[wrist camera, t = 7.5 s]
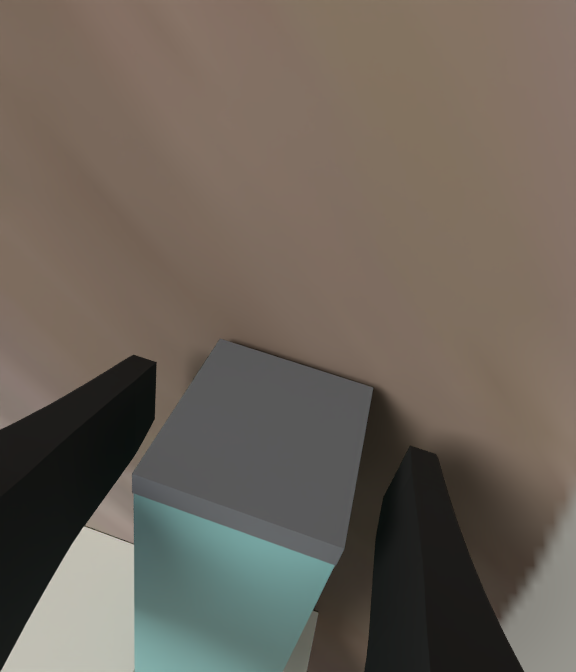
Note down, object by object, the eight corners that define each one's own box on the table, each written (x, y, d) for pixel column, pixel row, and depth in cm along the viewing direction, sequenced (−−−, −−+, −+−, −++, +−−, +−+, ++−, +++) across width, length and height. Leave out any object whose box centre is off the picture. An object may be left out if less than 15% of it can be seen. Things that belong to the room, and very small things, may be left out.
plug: (289, 594, 19) (253, 733, 15) (190, 558, 19) (133, 685, 16) (373, 387, 12) (344, 548, 9) (220, 338, 12) (132, 473, 9)
